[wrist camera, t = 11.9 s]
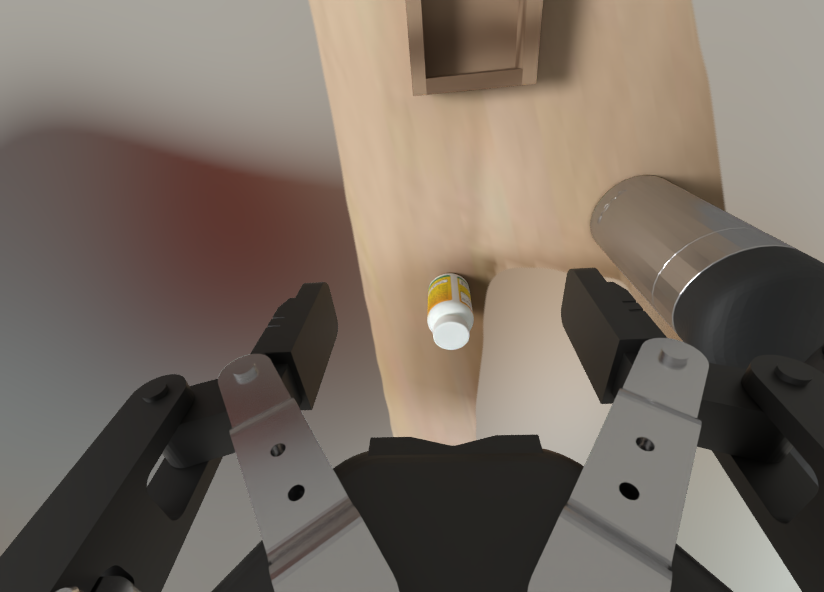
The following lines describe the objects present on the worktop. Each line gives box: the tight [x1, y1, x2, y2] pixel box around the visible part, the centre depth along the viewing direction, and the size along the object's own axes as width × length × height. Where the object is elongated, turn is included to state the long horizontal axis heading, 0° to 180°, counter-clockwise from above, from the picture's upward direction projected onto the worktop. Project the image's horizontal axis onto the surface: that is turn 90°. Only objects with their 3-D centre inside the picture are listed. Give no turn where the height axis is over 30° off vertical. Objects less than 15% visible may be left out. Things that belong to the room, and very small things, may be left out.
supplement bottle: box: [428, 273, 474, 350], centre depth 44 cm, size 5×5×10 cm
